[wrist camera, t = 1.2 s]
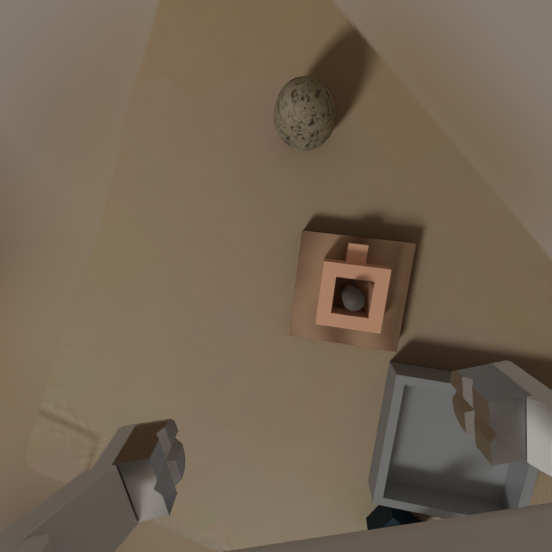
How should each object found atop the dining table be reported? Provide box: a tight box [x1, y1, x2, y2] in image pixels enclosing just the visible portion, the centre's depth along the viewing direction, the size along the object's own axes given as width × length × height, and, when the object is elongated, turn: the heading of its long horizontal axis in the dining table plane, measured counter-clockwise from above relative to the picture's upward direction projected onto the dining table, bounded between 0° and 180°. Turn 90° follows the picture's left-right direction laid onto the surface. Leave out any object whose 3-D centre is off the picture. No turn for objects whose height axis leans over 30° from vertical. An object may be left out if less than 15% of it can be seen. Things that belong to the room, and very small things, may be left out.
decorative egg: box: [274, 76, 336, 150], centre depth 31 cm, size 6×6×10 cm
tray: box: [368, 362, 539, 519], centre depth 38 cm, size 16×16×4 cm
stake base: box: [289, 230, 416, 352], centre depth 35 cm, size 12×12×6 cm
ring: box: [315, 243, 391, 334], centre depth 35 cm, size 7×9×3 cm
